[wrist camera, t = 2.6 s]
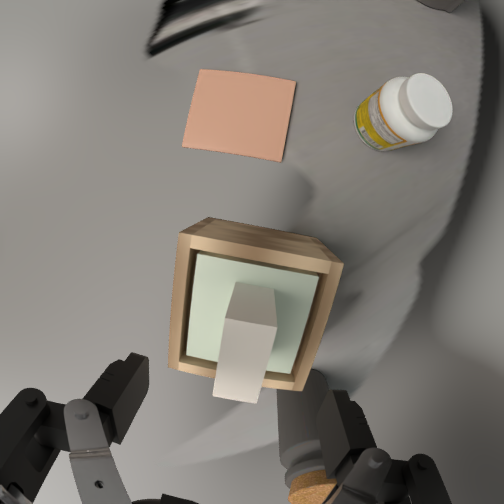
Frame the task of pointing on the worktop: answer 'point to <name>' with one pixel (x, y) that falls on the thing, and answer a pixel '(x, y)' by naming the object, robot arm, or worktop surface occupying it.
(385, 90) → the supplement bottle
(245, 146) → the plate
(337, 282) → the crate
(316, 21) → the worktop surface
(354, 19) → the worktop surface
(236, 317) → the lid
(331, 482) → the bottle
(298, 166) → the worktop surface
